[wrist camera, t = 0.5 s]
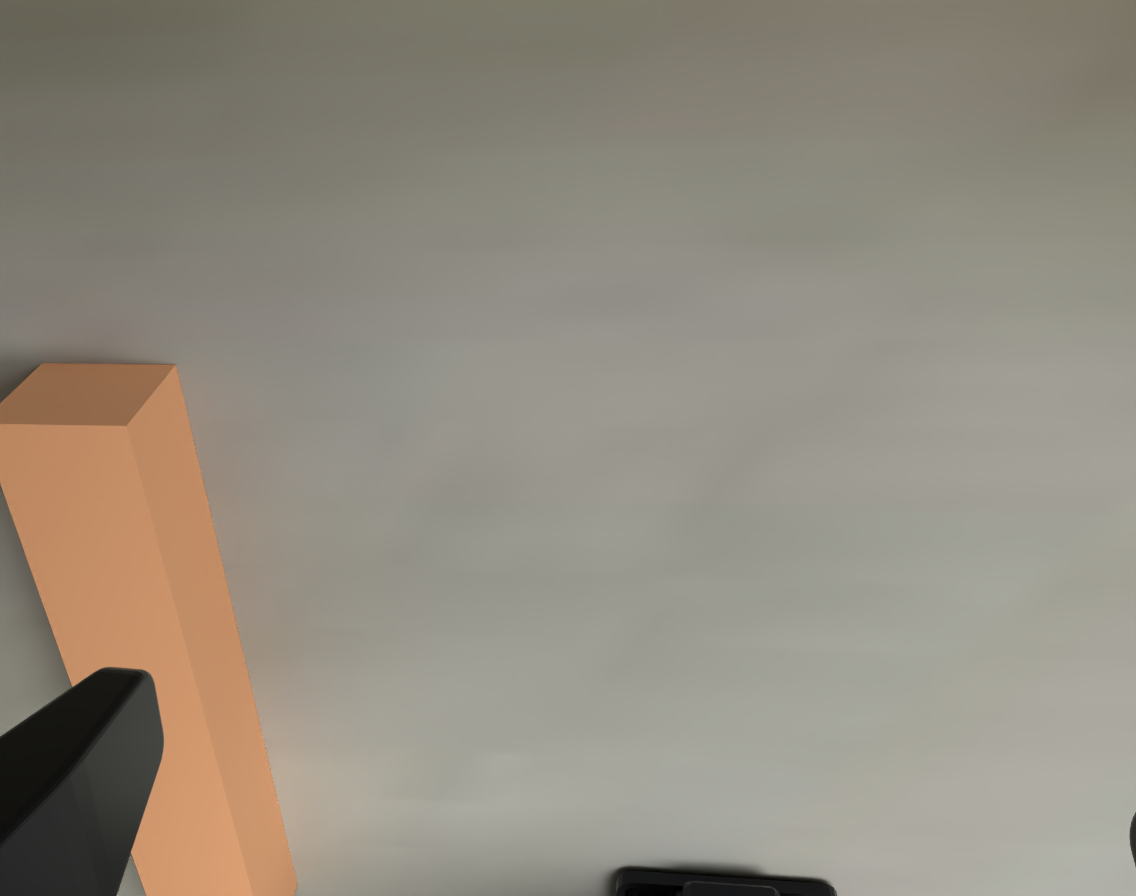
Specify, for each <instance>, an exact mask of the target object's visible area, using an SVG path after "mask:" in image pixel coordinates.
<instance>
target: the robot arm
mask: <svg viewBox="0 0 1136 896" xmlns="http://www.w3.org/2000/svg"><path fill="white" fill-rule="evenodd" d="M163 749H164V733H163V727H162V721H161V716H160V710H159V704H158V699H157V693H156V688H155V683H154V680H153V677H152V676H151V674H150V673H149V672H148V671H145V670H142V669H132V668H120V667H104V668H101V669H99V670H97V671H95V672H93V673H92V674H91V675H89V676H88V677H86V678H85V679H83V680H82V681H80V682H79V683H77V684H76V685H75V686H73V687H72V688H70V689H69V690H67V691H66V692H64V693H63V694H62V695H60V696H59V697H57V698H56V699H54V700H53V701H51V702H50V703H48V704H47V705H46V706H44V707H43V708H41V709H40V710H38V711H37V712H35V713H34V714H32V715H31V716H30V717H28V718H27V719H25V720H24V721H22V722H21V723H19V724H18V725H17V726H15V727H14V728H12V729H11V730H9V731H8V732H6V733H5V734H3V735H2V736H1V737H0V896H117V893H118V890H119V887H120V884H121V881H122V878H123V875H124V872H125V869H126V866H127V863H128V860H129V857H130V854H131V851H132V848H133V845H134V842H135V839H136V836H137V833H138V830H139V827H140V824H141V821H142V818H143V815H144V812H145V809H146V806H147V803H148V800H149V797H150V794H151V791H152V788H153V785H154V782H155V779H156V776H157V773H158V770H159V767H160V763H161V760H162V755H163ZM1130 846H1131V851H1132V855H1133V858H1134V862H1135V866H1136V812H1135V814H1134V816H1133V819H1132V822H1131V827H1130ZM615 896H837V893H836V890H835V889H834V888H833V887H831V886H829V885H826V884H818V883H804V882H789V881H775V880H761V879H746V878H732V877H717V876H703V875H688V874H674V873H660V872H645V871H627V872H624V873H622V874H621V875H619V876H618V878H617V881H616V890H615Z"/></svg>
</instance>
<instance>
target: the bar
mask: <svg viewBox="0 0 1136 896" xmlns="http://www.w3.org/2000/svg"><path fill="white" fill-rule="evenodd" d="M0 484H1V487H2V490H3V493H4V496H5V499H6V501H7V504H8V507H9V510H10V513H11V516H12V518H13V521H14V524H15V527H16V530H17V532H18V535H19V538H20V541H21V544H22V547H23V549H24V552H25V555H26V558H27V561H28V563H29V566H30V569H31V572H32V575H33V578H34V580H35V583H36V586H37V589H38V592H39V594H40V597H41V600H42V603H43V606H44V609H45V611H46V614H47V617H48V620H49V623H50V625H51V628H52V631H53V634H54V637H55V640H56V642H57V645H58V648H59V651H60V654H61V656H62V659H63V662H64V665H65V668H66V671H67V673H68V676H69V679H70V682H71V685H72V687H73V686H75V685H76V684H77V683H79V682H80V681H82V680H83V679H85V678H86V677H88V676H89V675H91V674H92V673H93V672H95V671H97V670H99V669H101V668H104V667H120V668H132V669H142V670H145V671H148V672H149V673H150V674H151V676H152V677H153V680H154V683H155V688H156V693H157V699H158V704H159V710H160V716H161V721H162V727H163V733H164V749H163V755H162V760H161V763H160V767H159V770H158V773H157V776H156V779H155V782H154V785H153V788H152V791H151V794H150V797H149V800H148V803H147V806H146V809H145V812H144V815H143V818H142V821H141V824H140V827H139V830H138V833H137V836H136V839H135V842H134V845H133V848H132V851H131V854H132V857H133V859H134V862H135V865H136V868H137V871H138V874H139V876H140V879H141V882H142V885H143V888H144V890H145V893H146V896H294V895H295V892H296V888H297V881H296V876H295V872H294V868H293V864H292V859H291V855H290V851H289V847H288V842H287V838H286V834H285V829H284V825H283V821H282V817H281V812H280V808H279V804H278V799H277V795H276V791H275V787H274V782H273V778H272V774H271V769H270V765H269V761H268V757H267V752H266V748H265V744H264V739H263V735H262V731H261V727H260V722H259V718H258V714H257V710H256V705H255V701H254V697H253V692H252V688H251V684H250V680H249V675H248V671H247V667H246V662H245V658H244V654H243V650H242V645H241V641H240V637H239V632H238V628H237V624H236V620H235V615H234V611H233V607H232V603H231V598H230V594H229V590H228V585H227V581H226V577H225V573H224V568H223V564H222V560H221V555H220V551H219V547H218V543H217V538H216V534H215V530H214V525H213V521H212V517H211V513H210V508H209V504H208V500H207V495H206V491H205V487H204V483H203V478H202V474H201V470H200V466H199V461H198V457H197V453H196V448H195V444H194V440H193V436H192V431H191V427H190V423H189V418H188V414H187V410H186V406H185V401H184V397H183V393H182V388H181V384H180V380H179V376H178V371H177V367H176V365H163V364H75V363H42V364H41V365H40V366H39V367H38V368H37V369H36V370H35V371H33V372H32V373H31V374H30V375H29V376H28V377H27V378H26V379H25V380H24V381H23V382H22V383H21V384H20V385H19V386H18V387H17V388H16V389H15V390H14V391H13V392H11V393H10V394H9V395H8V396H7V397H6V398H5V399H4V400H3V401H2V402H1V403H0Z"/></svg>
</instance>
